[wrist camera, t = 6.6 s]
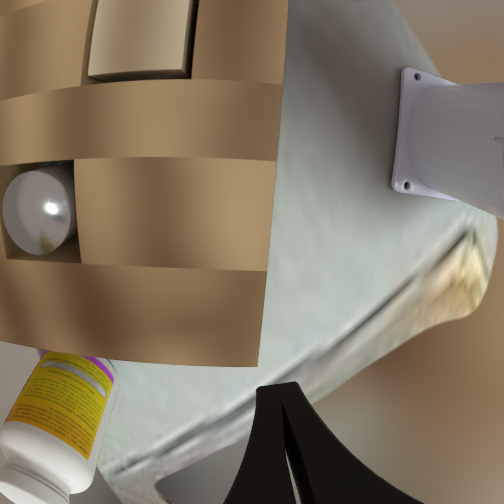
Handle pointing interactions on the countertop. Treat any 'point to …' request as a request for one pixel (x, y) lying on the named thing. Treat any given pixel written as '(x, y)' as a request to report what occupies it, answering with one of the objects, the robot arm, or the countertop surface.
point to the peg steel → (41, 208)
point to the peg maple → (143, 40)
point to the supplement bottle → (57, 428)
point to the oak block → (144, 187)
